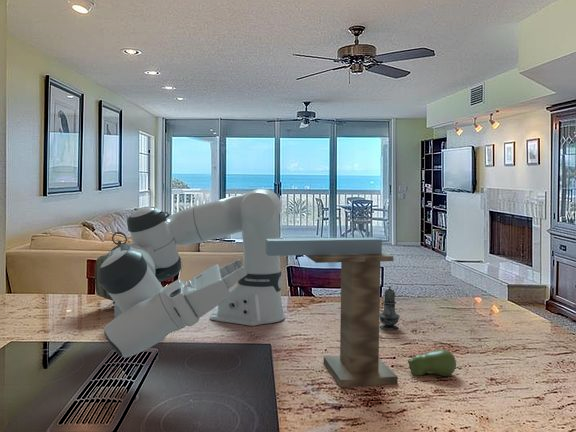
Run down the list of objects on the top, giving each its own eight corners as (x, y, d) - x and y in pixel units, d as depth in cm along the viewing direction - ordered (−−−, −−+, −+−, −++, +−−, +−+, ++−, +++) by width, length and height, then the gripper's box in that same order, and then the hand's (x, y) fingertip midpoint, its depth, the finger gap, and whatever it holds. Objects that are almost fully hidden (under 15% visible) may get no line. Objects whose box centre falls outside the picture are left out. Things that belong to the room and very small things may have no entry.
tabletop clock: (146, 309, 161) (145, 232, 160) (123, 315, 154) (121, 234, 152) (116, 303, 169) (115, 229, 167) (93, 309, 161) (91, 231, 160)
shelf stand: (316, 389, 99) (317, 258, 98) (301, 364, 113) (302, 249, 111) (397, 383, 102) (400, 256, 101) (374, 360, 116) (375, 248, 114)
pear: (456, 353, 104) (407, 358, 106) (459, 378, 104) (410, 383, 106) (452, 345, 109) (405, 349, 111) (455, 368, 110) (409, 373, 111)
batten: (268, 255, 101) (268, 241, 101) (265, 253, 105) (265, 238, 105) (381, 253, 105) (381, 239, 105) (375, 251, 109) (375, 237, 109)
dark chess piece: (399, 331, 139) (400, 288, 138) (378, 330, 140) (379, 287, 139) (399, 325, 144) (400, 284, 144) (378, 324, 146) (379, 283, 145)
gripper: (192, 302, 111) (246, 270, 112) (190, 329, 91) (256, 289, 92) (177, 278, 110) (232, 246, 111) (172, 299, 90) (239, 259, 91)
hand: (243, 265), depth 102 cm, fingers open, 8 cm apart
